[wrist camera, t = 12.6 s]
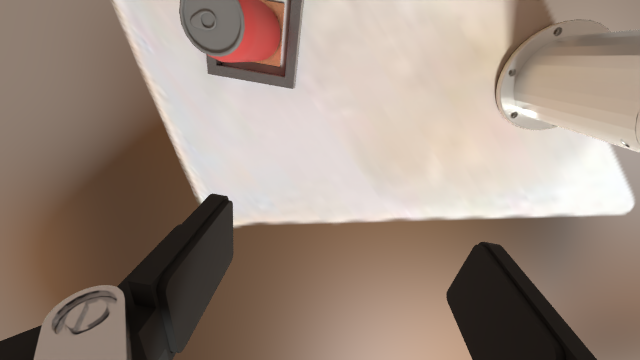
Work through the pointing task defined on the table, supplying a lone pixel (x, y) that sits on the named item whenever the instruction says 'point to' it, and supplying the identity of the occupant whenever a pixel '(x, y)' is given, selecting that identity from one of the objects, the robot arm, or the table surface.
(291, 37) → the gray rectangular frame
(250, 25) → the beer can
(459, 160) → the table surface
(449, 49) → the table surface
